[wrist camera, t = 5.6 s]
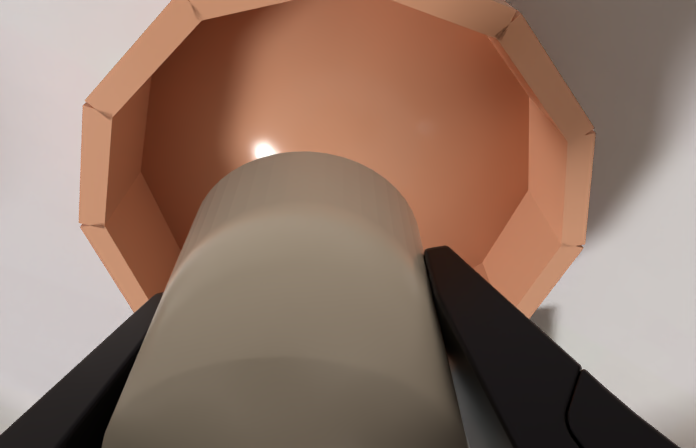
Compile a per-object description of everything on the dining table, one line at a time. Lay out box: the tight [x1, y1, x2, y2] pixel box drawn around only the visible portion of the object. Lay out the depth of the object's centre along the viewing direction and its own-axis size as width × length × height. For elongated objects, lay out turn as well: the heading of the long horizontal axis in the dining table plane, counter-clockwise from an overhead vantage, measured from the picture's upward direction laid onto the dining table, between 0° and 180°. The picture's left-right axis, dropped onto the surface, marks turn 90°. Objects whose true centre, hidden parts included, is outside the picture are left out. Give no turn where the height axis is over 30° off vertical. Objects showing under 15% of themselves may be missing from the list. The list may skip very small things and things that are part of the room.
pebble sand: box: [102, 151, 468, 448], centre depth 8 cm, size 4×4×4 cm
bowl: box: [79, 0, 596, 318], centre depth 16 cm, size 14×14×4 cm
